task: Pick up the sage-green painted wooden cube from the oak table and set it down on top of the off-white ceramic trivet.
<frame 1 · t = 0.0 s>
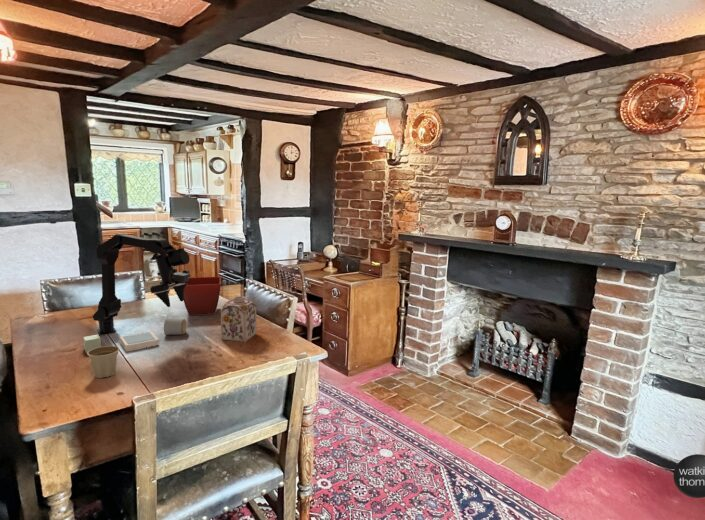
hand: (175, 303, 175), 15 cm above the table, tool pointing down, fingers open, 9 cm apart
ceramic mug: (176, 333, 185), on the table
plant pot: (202, 312, 218), on the table
flower pot: (105, 374, 143), on the table
cube: (92, 349, 164), on the table
decorative jar: (239, 337, 183), on the table
trivet: (139, 343, 171), on the table
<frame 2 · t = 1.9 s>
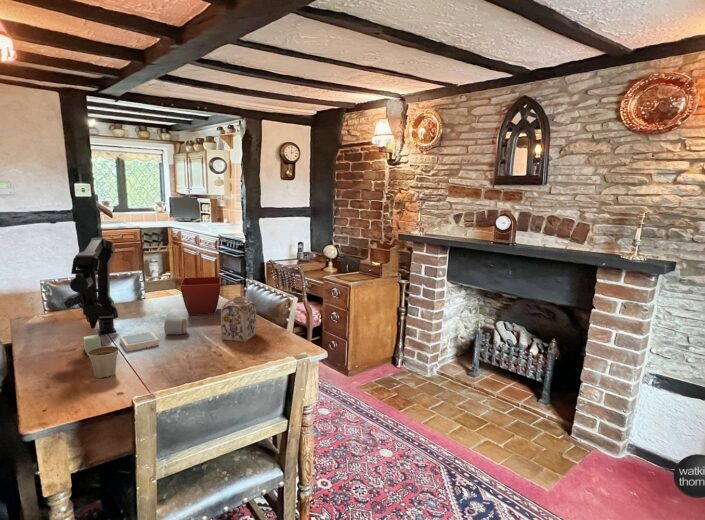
hand: (91, 325, 162), 10 cm above the table, tool pointing down, fingers open, 9 cm apart
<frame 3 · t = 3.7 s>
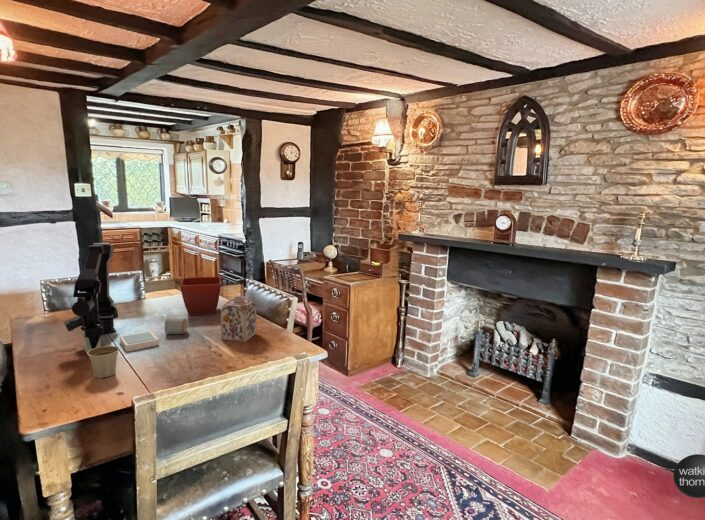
hand: (92, 346, 164), 1 cm above the table, tool pointing down, fingers closed on cube, 5 cm apart
cube: (92, 349, 164), on the table, touching gripper
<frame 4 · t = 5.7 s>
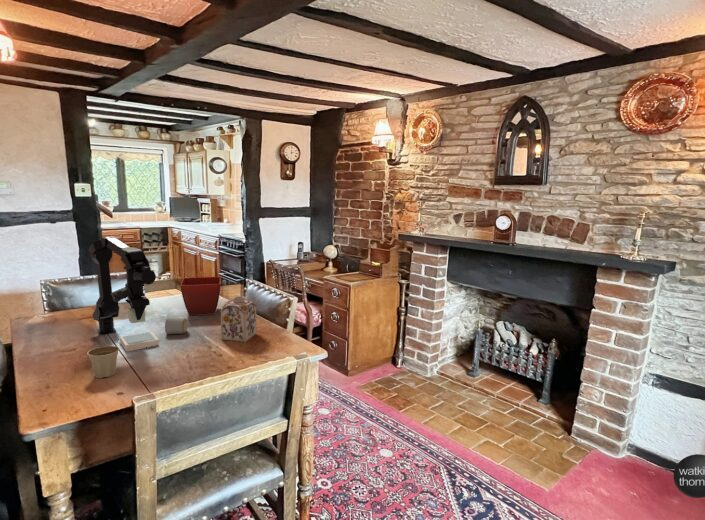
hand: (137, 318, 169), 11 cm above the table, tool pointing down, fingers closed on cube, 5 cm apart
cube: (137, 320, 169), point 10 cm above the table, touching gripper
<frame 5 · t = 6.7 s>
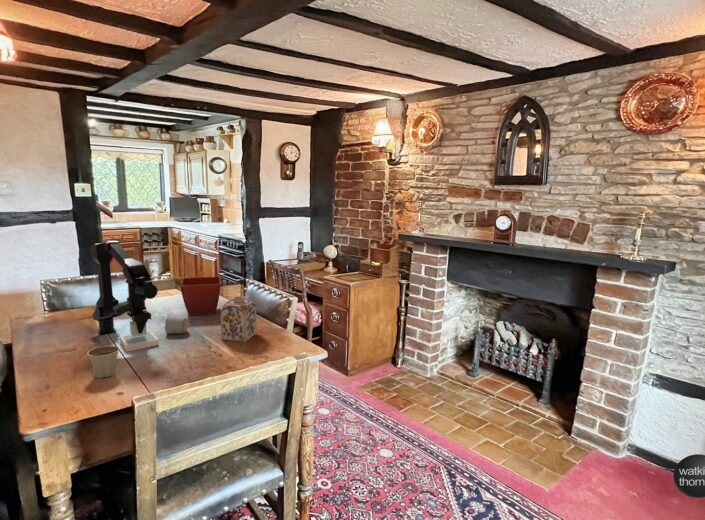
hand: (138, 331, 170), 5 cm above the table, tool pointing down, fingers closed on cube, 5 cm apart
cube: (138, 334, 170), point 4 cm above the table, touching gripper
when the fingers open (4 cm above the table, at t = 7.7 s): cube stays where it is, resting on trivet.
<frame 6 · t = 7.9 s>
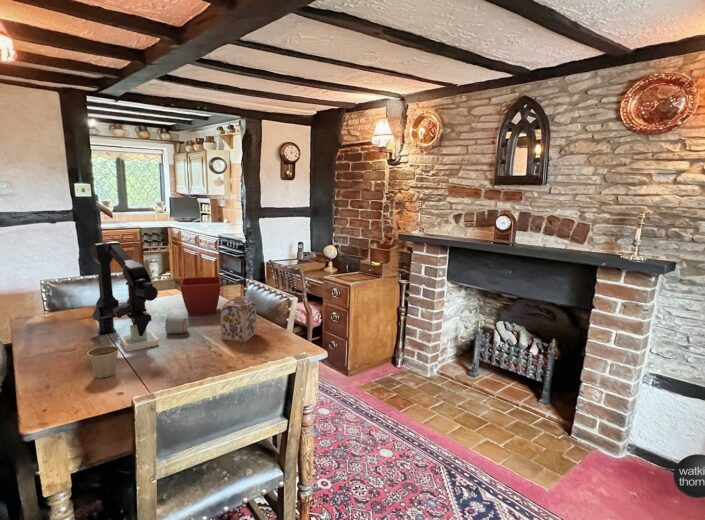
hand: (138, 333, 170), 4 cm above the table, tool pointing down, fingers open, 7 cm apart
cube: (138, 337, 170), point 3 cm above the table, touching trivet
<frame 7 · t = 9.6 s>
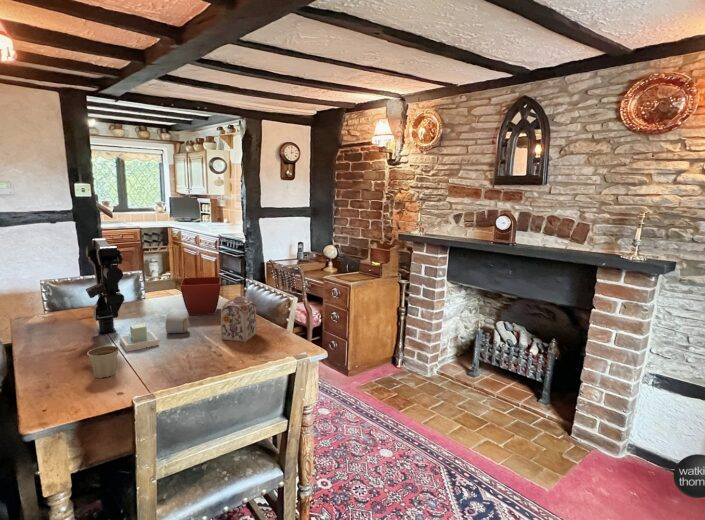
hand: (112, 314, 171), 12 cm above the table, tool pointing down, fingers open, 9 cm apart
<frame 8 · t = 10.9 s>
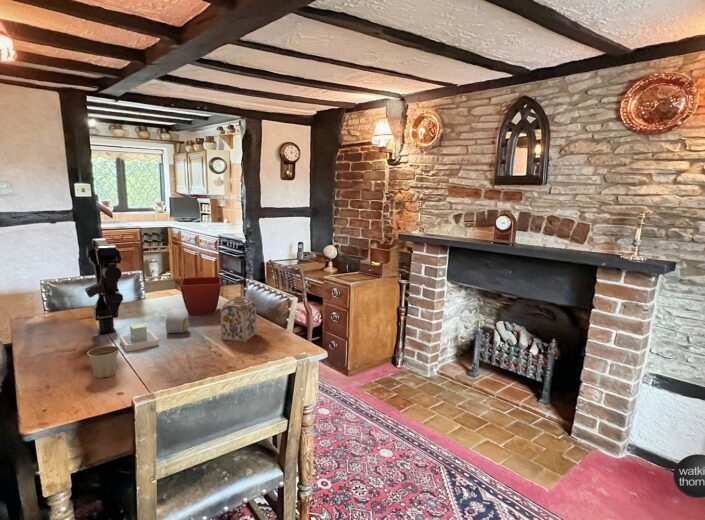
hand: (111, 313, 171), 12 cm above the table, tool pointing down, fingers open, 9 cm apart
at the end: cube inside the target area on the trivet (0.1 cm from its centre), point 2.7 cm above the trivet's base; cube tilted 0°; the gripper is holding nothing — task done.
